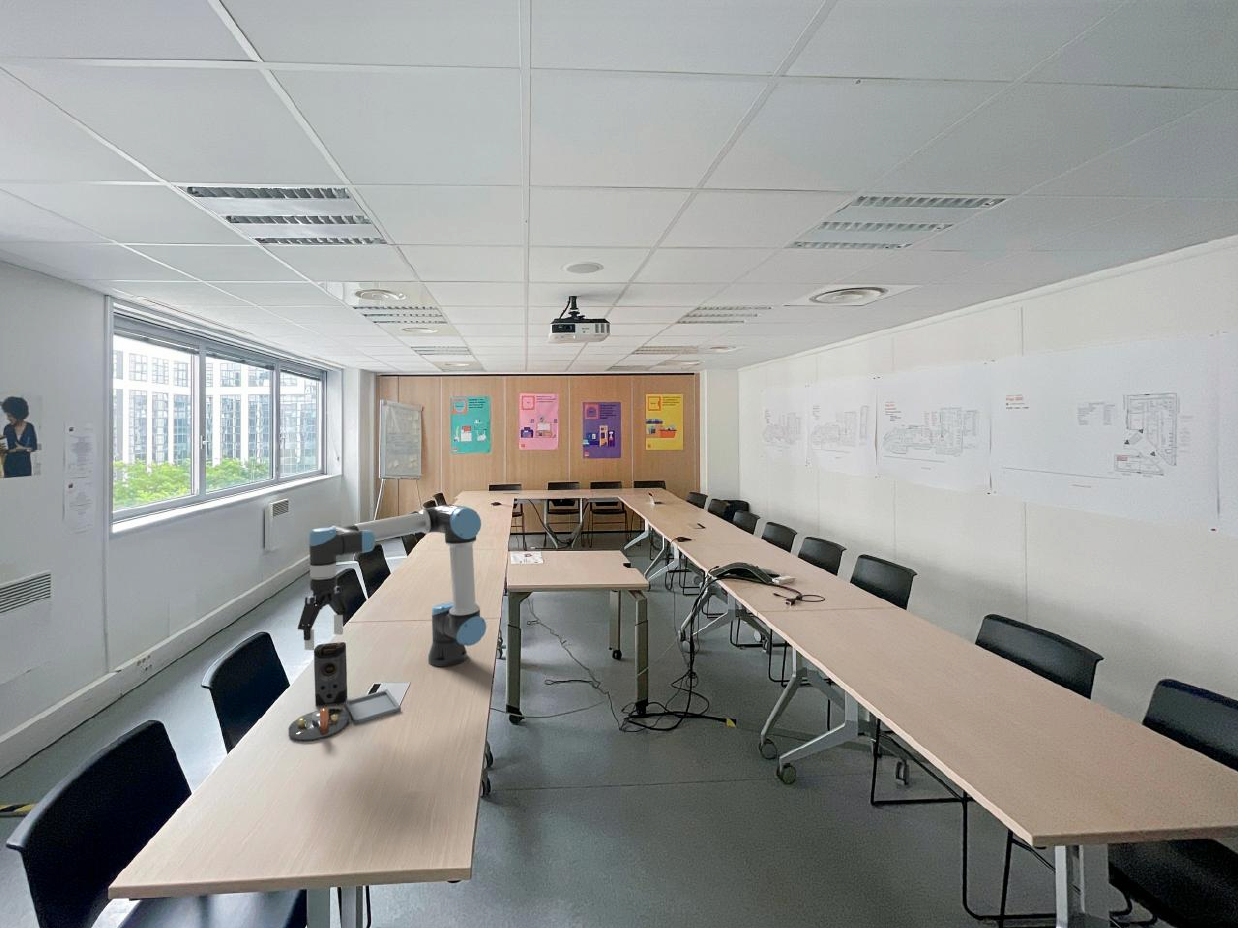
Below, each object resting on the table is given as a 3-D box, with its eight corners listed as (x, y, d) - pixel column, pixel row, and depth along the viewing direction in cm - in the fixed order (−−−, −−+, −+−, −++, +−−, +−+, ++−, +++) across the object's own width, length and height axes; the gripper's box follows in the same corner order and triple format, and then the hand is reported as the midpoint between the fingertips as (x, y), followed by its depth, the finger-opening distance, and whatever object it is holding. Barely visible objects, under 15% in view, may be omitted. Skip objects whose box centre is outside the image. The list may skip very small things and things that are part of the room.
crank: (310, 720, 172) (310, 699, 172) (326, 716, 175) (325, 695, 175) (317, 736, 163) (316, 713, 163) (333, 731, 166) (332, 709, 166)
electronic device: (314, 708, 183) (312, 650, 182) (318, 700, 189) (317, 644, 188) (344, 705, 186) (343, 647, 185) (348, 697, 192) (346, 641, 191)
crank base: (343, 707, 184) (343, 696, 184) (355, 729, 171) (355, 716, 170) (285, 724, 173) (284, 712, 173) (292, 748, 160) (292, 735, 160)
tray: (387, 693, 194) (387, 689, 194) (400, 711, 181) (400, 707, 181) (344, 705, 185) (344, 701, 185) (355, 725, 173) (355, 720, 173)
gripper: (338, 567, 188) (339, 627, 189) (283, 586, 163) (284, 655, 164) (358, 568, 186) (359, 629, 187) (305, 587, 162) (307, 657, 163)
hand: (324, 641), depth 176 cm, fingers open, 13 cm apart
